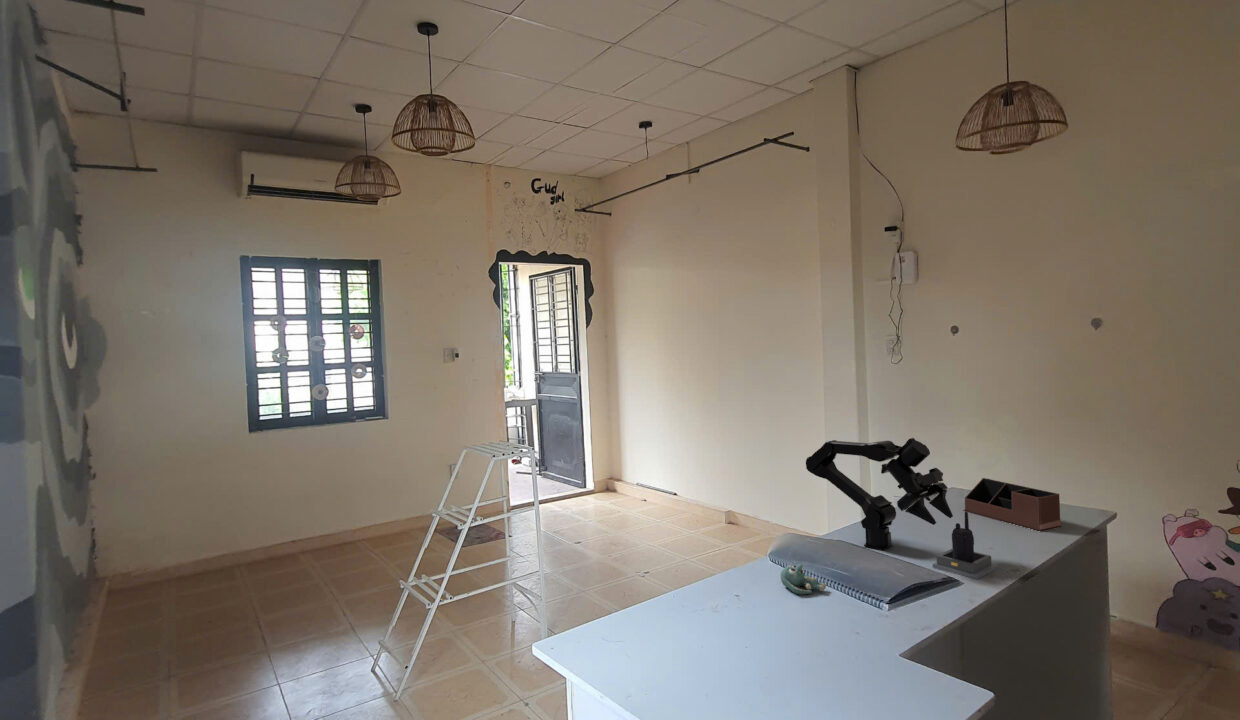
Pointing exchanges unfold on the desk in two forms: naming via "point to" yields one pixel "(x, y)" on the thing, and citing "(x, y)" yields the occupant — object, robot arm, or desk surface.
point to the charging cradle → (965, 564)
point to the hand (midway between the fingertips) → (943, 520)
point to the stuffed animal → (799, 580)
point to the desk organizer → (1014, 504)
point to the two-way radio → (963, 542)
